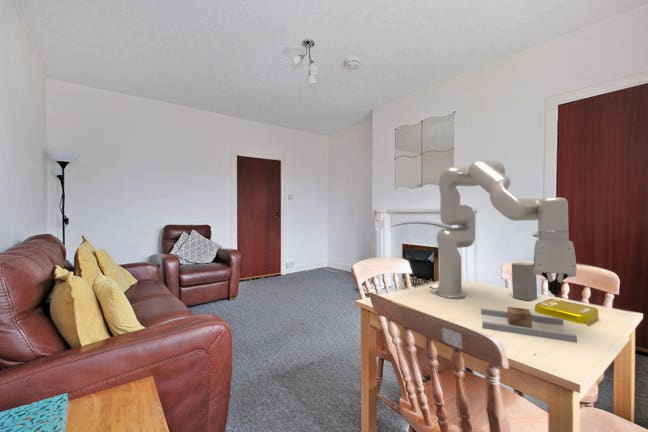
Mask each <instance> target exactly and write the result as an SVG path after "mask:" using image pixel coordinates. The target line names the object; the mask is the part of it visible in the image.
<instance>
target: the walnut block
mask: <svg viewBox="0 0 648 432" xmlns="http://www.w3.org/2000/svg"><path fill="white" fill-rule="evenodd" d="M507 312H508V323H509V325H513V326H520V327H527V328H532V315H533V314H532V313H531V311H530V309H529V308H523V307H522V308H521V307H514V306H507Z"/></svg>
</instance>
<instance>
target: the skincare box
mask: <svg viewBox="0 0 648 432" xmlns="http://www.w3.org/2000/svg"><path fill="white" fill-rule="evenodd" d="M533 270H534V262H533V263H531V262H523V261H522V262H513V263H511V277H512V278H511V279H512V280H511V282H512V298H514V299H518V300H522V301H525V302H529V301H532V300H535V299H538V288H537V287H538V285H537V274H534V273H533Z"/></svg>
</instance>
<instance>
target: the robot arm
mask: <svg viewBox="0 0 648 432" xmlns="http://www.w3.org/2000/svg"><path fill="white" fill-rule="evenodd" d="M505 174H506V169H505V166H504V165H503V164H502V163H501V162H500V161H496V160H476V161H474V162H472V163H471V164H470V165H469V166H468V167H467V166H466V167H463V166H451V167H448V168H446V169H444V170H443V171H442V172H441V174H440V175H439V179H438V187H439V189H438V190H439V195H440V201H439V202H440V207H439V208H440V211H439V212H440V213H439V214H440V221H441V223H442V224H443V225H445V226H457V227H446V228H442V229H441V230H439V231H438V233H437V234H436V243H437V246H438V255H439V256H438V257H439V258H438V260H439V261H438V262H439V263H438V264H439V271H438V272H439V283H437V284H433V283H430V284H429V289H432V290H436V291H435V293H436V295H437V296H439V297H442V298H445V299H463V298H466V292H464V291H463V290H462V287H463V286H462V285H463V283H462V257H461V253H460V252H459V250H458V249H459V248H460V249H461V248H469V247H472V245H473V244H474V243H475V240H476V215H475V211H474V209H473V208H472V207H471V206H470V205H467V204H461V194H460V192H459V189H458V188H457V187H460V186H461V187H476V186H477V187H478V186H479V187H481V188H482V189H483V190H484V191H486V192H487V193H488V194H489V200H490V202H491V205H492V206H493V208H494V209H496V210H497V211H498V212H499V213H500V214H501V215H502V216H504V217H505V218H507V219H509V220H511V221H514V222H519V221H520V222H521V221H523V222H524V221H537V225H538V227H537V228H538V229H537V231H536V232H533V233H532V237H534V238H537V239H536V240H535V244H534V250H533V251H534V252H533V264H534V270H533V273H534V274H536V276H542V277H543V278H545V280H547V290H548V292H550V293H551V295H557V296H559V295H560V293H561V292H562V282H563V281H564V280H565V279H567V278H573V277H577V259H576V251H575V247H574V242H573V241H571V240H570V238H569V237H570V235H569V233H570V232H569V202H568V200H567V198H565V197H544V198H518V197H516V196H514V195H513V194H512V193H511V192H509V191H508V190H509V188H510V185H511V179H510V178H509V177H508V176H507V175H505ZM552 274H555V278H554V279H553V275H552Z"/></svg>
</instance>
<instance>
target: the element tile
mask: <svg viewBox="0 0 648 432" xmlns="http://www.w3.org/2000/svg"><path fill="white" fill-rule="evenodd" d="M534 309H535V310H534V311H535V313H537V314H540V315H541V314H542V315H543V316H547V317H554V318H562V319H563V321H564V320H565V321H568V322H572V323H576V324H582V325H583V324H585V326H587V327H589V326H590V325H592V324H594V323H596V322H597V321H599V309H598V308H597V307H595V306H590V305H585V304H581V303H577V302H572V301H567V300H562V299H557V298H547V299H546V300H543V301H540V302H537V303H535V304H534Z"/></svg>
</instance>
